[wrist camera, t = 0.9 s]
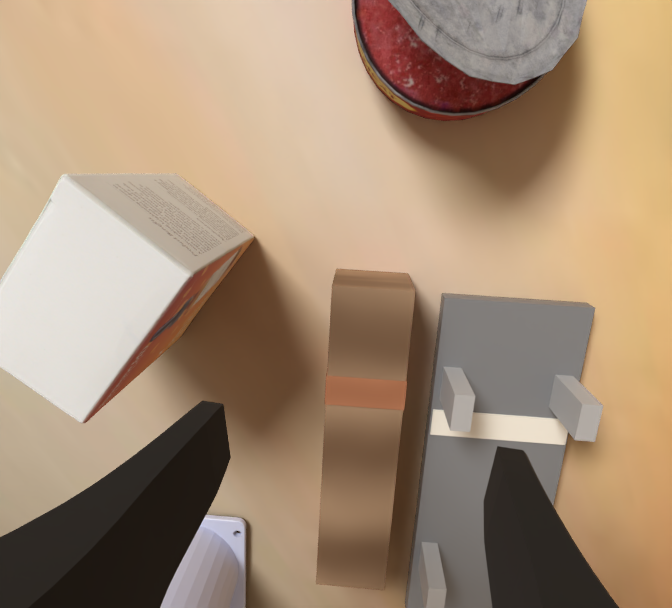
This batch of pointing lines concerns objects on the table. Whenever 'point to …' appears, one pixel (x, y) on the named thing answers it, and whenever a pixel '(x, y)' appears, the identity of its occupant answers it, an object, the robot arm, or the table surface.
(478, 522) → the base plate
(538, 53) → the canned food
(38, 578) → the robot arm
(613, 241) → the table surface
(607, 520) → the table surface
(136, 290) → the small box
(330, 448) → the banded tan post
